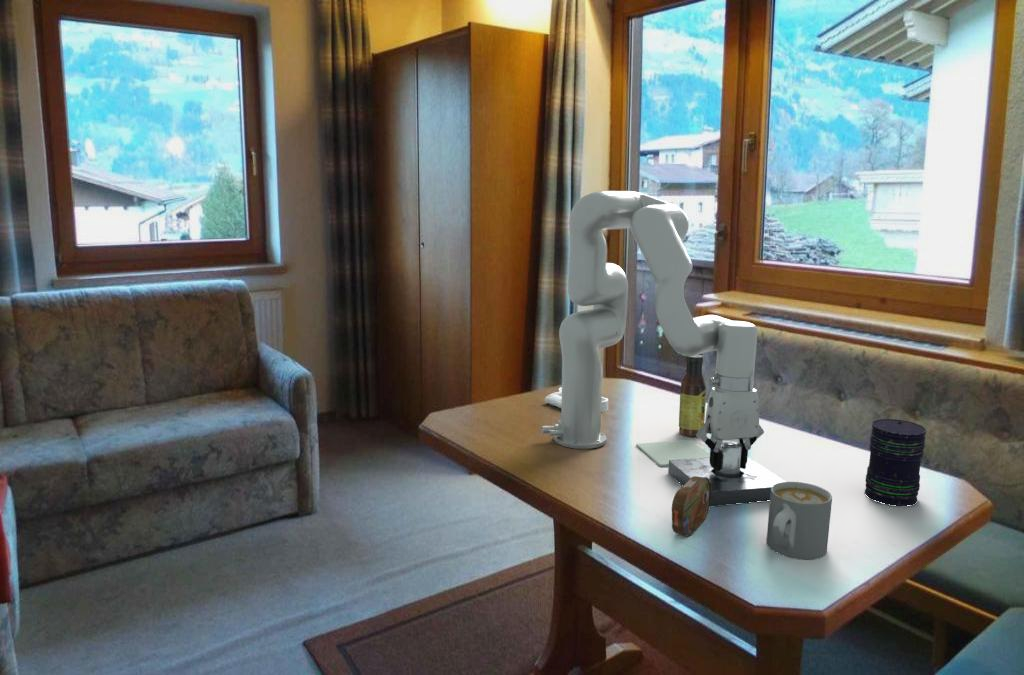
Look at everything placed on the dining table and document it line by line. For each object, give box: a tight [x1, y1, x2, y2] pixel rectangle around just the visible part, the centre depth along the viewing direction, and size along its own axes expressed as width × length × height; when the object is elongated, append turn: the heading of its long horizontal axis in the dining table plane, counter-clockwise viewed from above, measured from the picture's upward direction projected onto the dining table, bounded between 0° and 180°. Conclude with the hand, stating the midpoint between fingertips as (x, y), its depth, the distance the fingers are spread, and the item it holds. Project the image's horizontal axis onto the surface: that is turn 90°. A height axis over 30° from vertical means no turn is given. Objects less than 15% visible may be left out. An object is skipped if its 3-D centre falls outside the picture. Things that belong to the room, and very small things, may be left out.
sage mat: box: [635, 439, 710, 468], centre depth 183 cm, size 14×14×1 cm
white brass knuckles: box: [544, 386, 609, 413], centre depth 221 cm, size 3×18×15 cm
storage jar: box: [864, 418, 927, 507], centre depth 159 cm, size 10×10×15 cm
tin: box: [671, 476, 711, 537], centre depth 145 cm, size 15×3×8 cm, turn 148°
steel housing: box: [667, 456, 786, 507], centre depth 164 cm, size 18×18×3 cm
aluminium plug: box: [715, 440, 742, 478], centre depth 164 cm, size 5×5×9 cm
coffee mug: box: [766, 481, 833, 561], centre depth 136 cm, size 13×10×10 cm
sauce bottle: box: [678, 354, 707, 437], centre depth 196 cm, size 6×6×20 cm
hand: (727, 466), depth 164 cm, fingers closed on aluminium plug, 5 cm apart
